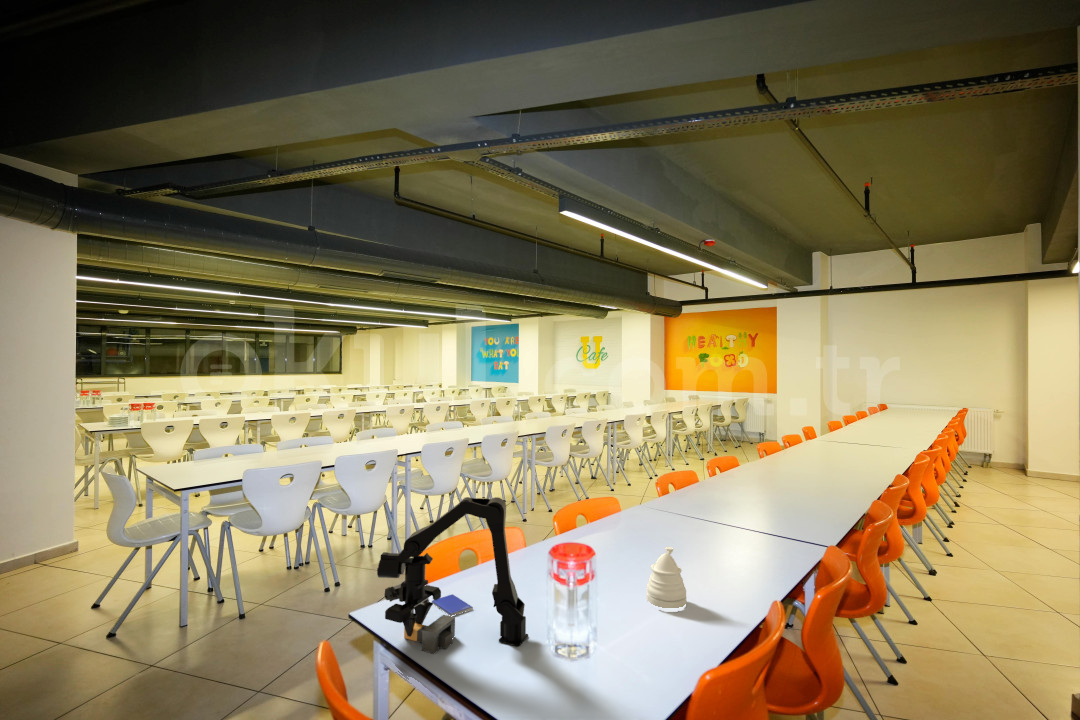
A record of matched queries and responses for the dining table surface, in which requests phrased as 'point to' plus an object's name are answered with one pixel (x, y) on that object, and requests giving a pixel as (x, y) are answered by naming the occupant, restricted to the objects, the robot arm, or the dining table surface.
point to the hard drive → (452, 605)
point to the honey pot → (666, 583)
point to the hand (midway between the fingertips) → (413, 632)
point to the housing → (436, 633)
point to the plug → (444, 636)
